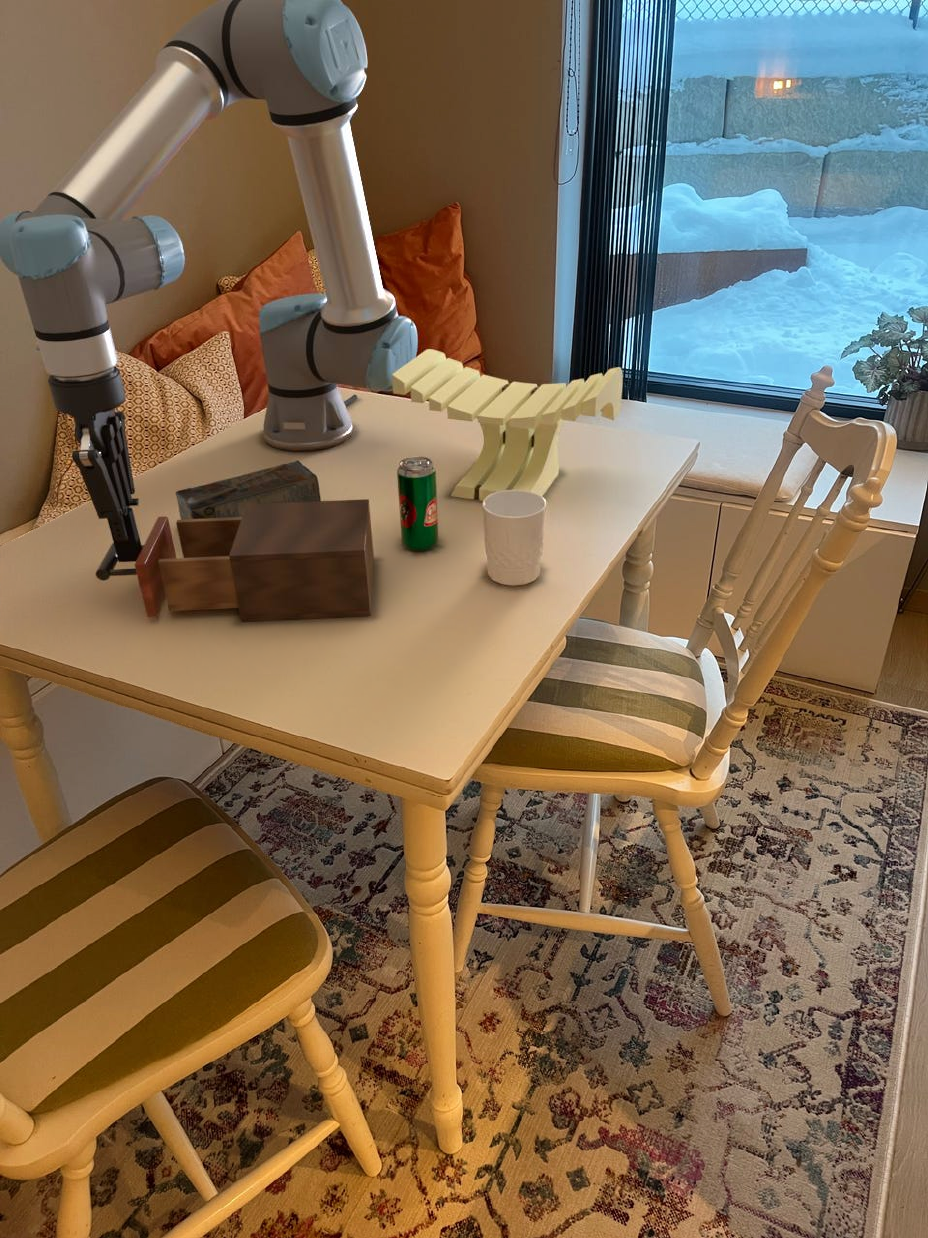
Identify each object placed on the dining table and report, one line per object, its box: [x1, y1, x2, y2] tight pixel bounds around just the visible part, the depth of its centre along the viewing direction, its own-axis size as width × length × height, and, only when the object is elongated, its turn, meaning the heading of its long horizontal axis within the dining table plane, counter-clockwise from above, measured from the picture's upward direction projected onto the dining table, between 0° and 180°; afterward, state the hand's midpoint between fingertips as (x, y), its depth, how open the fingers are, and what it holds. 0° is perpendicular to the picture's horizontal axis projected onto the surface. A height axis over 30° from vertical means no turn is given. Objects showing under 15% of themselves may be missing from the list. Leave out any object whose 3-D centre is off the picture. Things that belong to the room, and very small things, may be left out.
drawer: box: [95, 515, 242, 618], centre depth 115 cm, size 20×12×7 cm, turn 93°
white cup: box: [481, 490, 547, 587], centre depth 118 cm, size 8×8×10 cm
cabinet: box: [229, 498, 375, 623], centre depth 116 cm, size 16×14×9 cm
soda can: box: [396, 456, 439, 552], centre depth 125 cm, size 5×5×12 cm
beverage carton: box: [175, 460, 322, 520], centre depth 133 cm, size 8×19×7 cm, turn 121°
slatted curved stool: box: [392, 348, 624, 502], centre depth 140 cm, size 30×16×18 cm, turn 68°
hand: (131, 558), depth 115 cm, fingers closed
